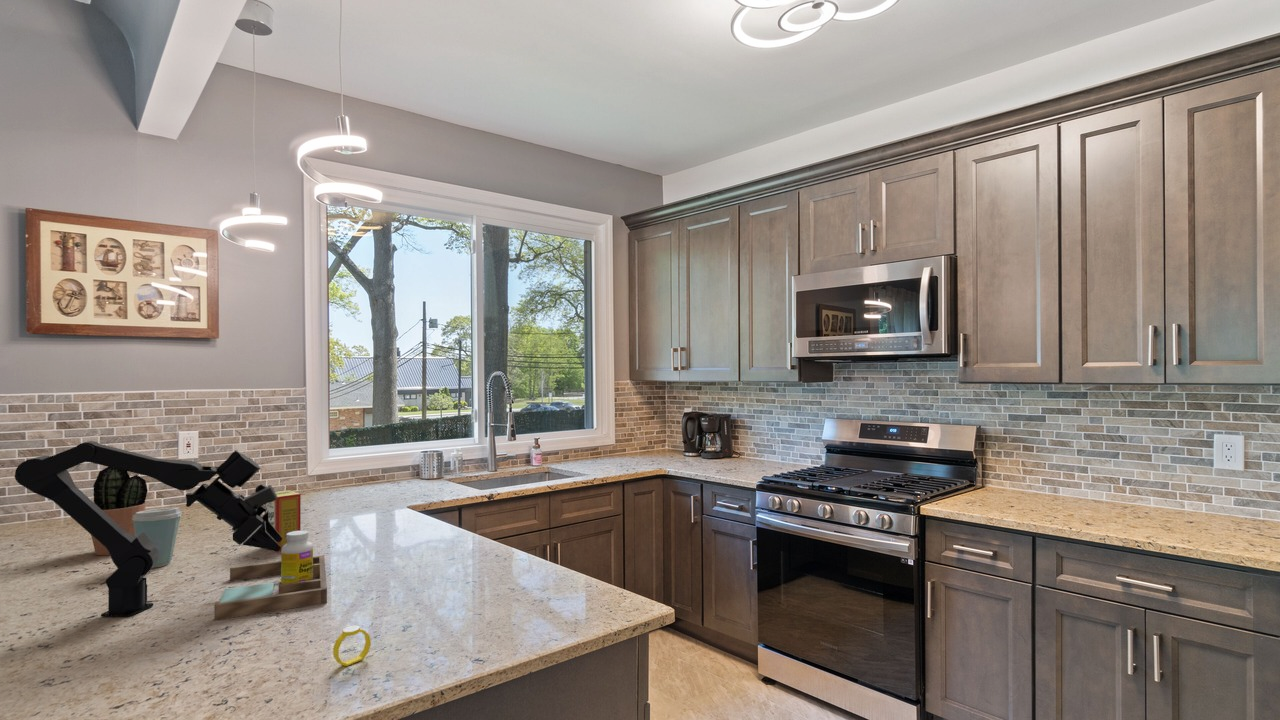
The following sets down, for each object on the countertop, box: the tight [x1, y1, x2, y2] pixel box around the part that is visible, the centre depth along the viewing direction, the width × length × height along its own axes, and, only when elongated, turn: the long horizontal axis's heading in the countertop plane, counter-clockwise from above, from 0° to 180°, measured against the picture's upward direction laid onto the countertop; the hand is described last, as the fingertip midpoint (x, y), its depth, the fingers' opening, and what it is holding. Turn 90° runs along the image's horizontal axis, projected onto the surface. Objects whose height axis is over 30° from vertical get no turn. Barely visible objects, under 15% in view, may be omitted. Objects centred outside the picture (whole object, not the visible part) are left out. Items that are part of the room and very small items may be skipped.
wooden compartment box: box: [213, 555, 328, 621], centre depth 150 cm, size 21×30×3 cm
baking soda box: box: [264, 489, 302, 553], centre depth 188 cm, size 10×6×16 cm
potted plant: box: [90, 466, 148, 556], centre depth 186 cm, size 14×14×25 cm
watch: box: [332, 625, 372, 667], centre depth 111 cm, size 6×3×6 cm, turn 139°
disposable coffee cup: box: [132, 507, 183, 569], centre depth 171 cm, size 11×11×15 cm
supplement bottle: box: [280, 530, 314, 585], centre depth 152 cm, size 7×7×13 cm
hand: (280, 544), depth 150 cm, fingers open, 9 cm apart
